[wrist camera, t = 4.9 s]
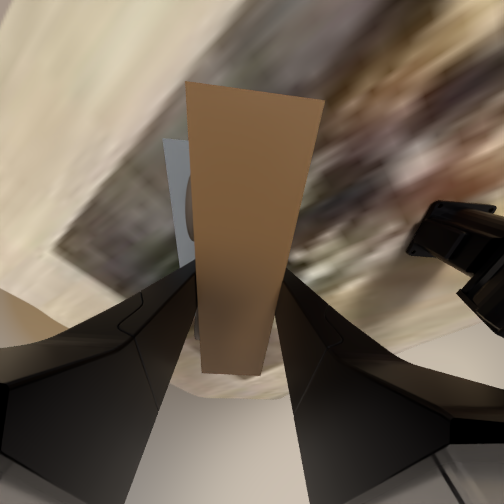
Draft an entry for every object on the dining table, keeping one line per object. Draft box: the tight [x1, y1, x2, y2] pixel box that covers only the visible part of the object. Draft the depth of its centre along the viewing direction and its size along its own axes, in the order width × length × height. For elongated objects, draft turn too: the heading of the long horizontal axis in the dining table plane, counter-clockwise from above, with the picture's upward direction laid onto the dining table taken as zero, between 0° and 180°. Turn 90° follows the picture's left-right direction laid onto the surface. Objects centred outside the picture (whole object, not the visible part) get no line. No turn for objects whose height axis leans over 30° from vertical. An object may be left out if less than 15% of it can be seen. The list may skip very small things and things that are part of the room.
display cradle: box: [163, 138, 196, 315], centre depth 18 cm, size 9×17×6 cm, turn 175°
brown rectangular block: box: [185, 81, 325, 376], centre depth 9 cm, size 13×4×3 cm, turn 174°
